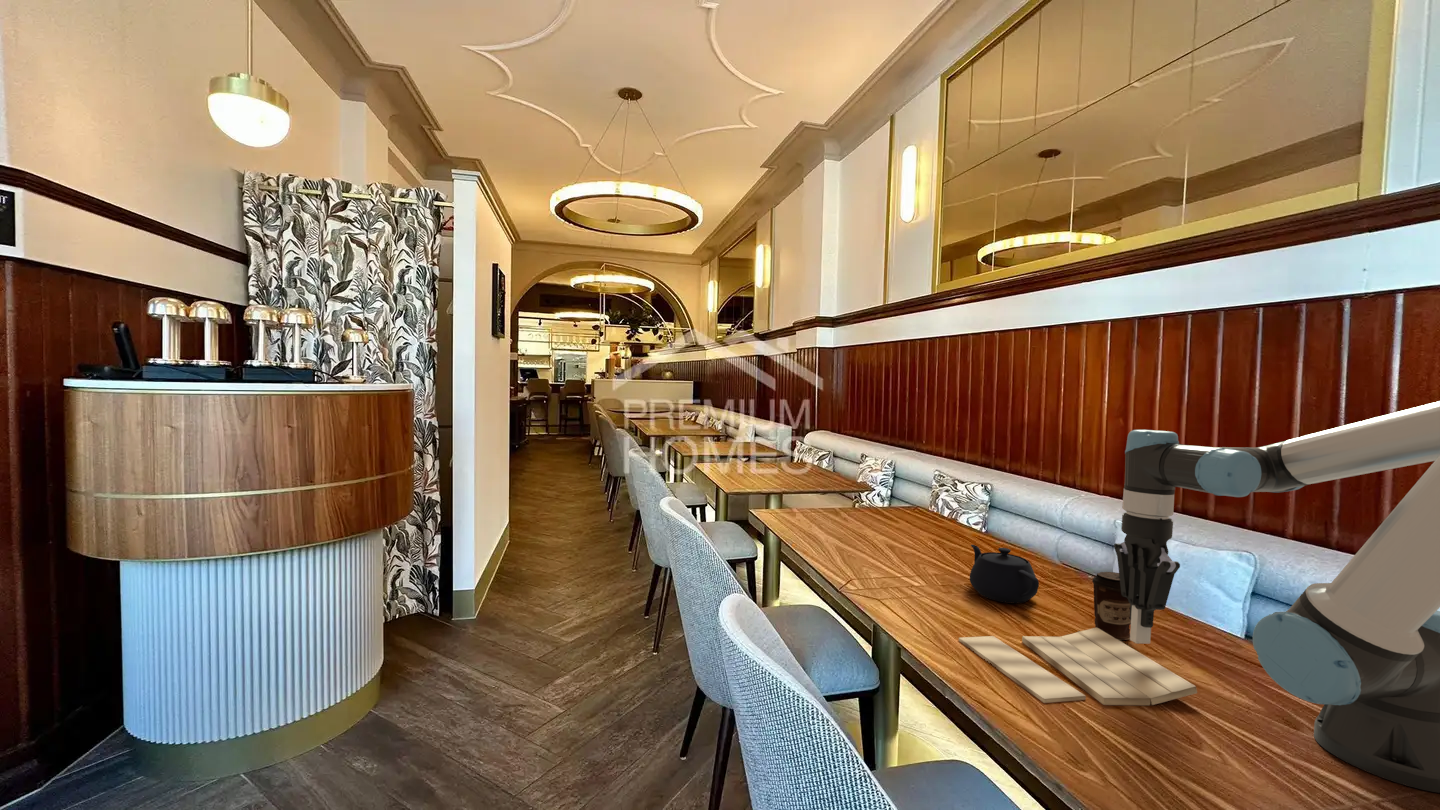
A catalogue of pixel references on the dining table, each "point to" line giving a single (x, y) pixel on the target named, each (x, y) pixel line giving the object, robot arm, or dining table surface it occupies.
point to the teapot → (1003, 576)
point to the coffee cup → (1111, 606)
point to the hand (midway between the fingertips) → (1139, 641)
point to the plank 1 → (1022, 670)
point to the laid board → (1086, 671)
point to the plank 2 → (1131, 666)
